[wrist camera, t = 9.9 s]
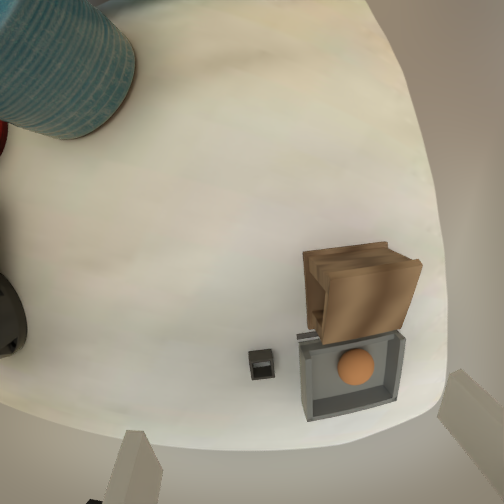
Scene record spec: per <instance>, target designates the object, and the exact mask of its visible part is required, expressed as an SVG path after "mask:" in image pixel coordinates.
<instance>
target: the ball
mask: <svg viewBox="0 0 504 504" xmlns="http://www.w3.org/2000/svg"><path fill="white" fill-rule="evenodd" d="M337 370H338V374H339V377H340V378H341V379H342V380H343V381H344V382H345V383H347V384H349V385H360V384H363V383H365V382H366V381H368V380H369V379H370V377H371V376H372V374H373V372H374V360H373V358H372V356H371V355H370V354H369V353H368V352H367V351H365V350H363V349H351V350H349V351H347V352H345V353H344V354H343V355H342V356H341V358H340V359H339V362H338V366H337Z"/></svg>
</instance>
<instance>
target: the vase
mask: <svg viewBox="0 0 504 504" xmlns="http://www.w3.org/2000/svg"><path fill="white" fill-rule="evenodd" d="M134 70H135V56H134V51H133V48H132V46H131V44H130V42H129V40H128V39H127V38H126V37H125V36H124V34H123V33H122V32H120V30H119V29H118V28H117V27H116V26H115V25H114V24H113V23H112V22H111V21H110V20H109V19H108V18H107V17H106V16H105V15H104V14H103V13H101V12H100V11H99V10H98V9H97V8H95V7H94V6H93V5H91V3H89V2H88V1H87V0H0V120H1V121H3V122H7V123H11V124H13V125H15V126H17V127H21V128H23V129H26V130H29V131H32V132H36V133H39V134H42V135H46V136H49V137H52V138H55V139H74V138H78V137H81V136H84V135H86V134H88V133H90V132H92V131H93V130H95V129H97V128H98V127H99V126H101V125H102V124H103V123H104V122H106V121H107V120H108V119H109V118H110V117H111V116H112V115H113V114H114V112H115V111H116V110H117V109H118V107H119V106H120V105H121V103H122V102H123V100H124V98H125V96H126V95H127V93H128V90H129V88H130V86H131V83H132V80H133V76H134Z"/></svg>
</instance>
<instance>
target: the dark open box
mask: <svg viewBox="0 0 504 504" xmlns="http://www.w3.org/2000/svg"><path fill="white" fill-rule="evenodd" d="M248 353H249V365H250V371H251V378H252V380H259V379H267V378H275V373H274V363H273V356H272V351H271V349H266V350H258V351H250V352H248ZM266 361H270V364H271V366H265V367H256V368H253V364H252V363H258V362H266Z"/></svg>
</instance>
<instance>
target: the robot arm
mask: <svg viewBox="0 0 504 504" xmlns="http://www.w3.org/2000/svg"><path fill="white" fill-rule="evenodd" d="M26 334H27V326H26V319H25V314H24V311H23V308H22V305H21V302H20V300H19V298H18V296H17V294H16V292H15V290H14V289H13V287H12V286H11V284H10V283H9V282H8V280H7V279H6V278H5V277H4V276H3V275H2V274H1V273H0V359H1V358H5V357H9V356H11V355H13V354H14V353H16V352H17V351H18V350H19V349H20V348H21V347H22V346H23V344H24V342H25V340H26ZM437 418H438V419H439V420H440V421H441V423H443V425H444V426H445V427H446V429H447V430H448V431H449V432H450V434H451V435H452V436H453V437H454V438H455V440H456V441H457V442H458V443H459V445H460V446H461V447H462V448H463V450H464V451H465V452H466V453H467V455H468V456H469V457H470V459H471V460H472V461H473V462H474V464H475V465H476V466H477V467H478V469H479V470H480V471H481V473H482V474H483V475H484V476H485V478H486V479H487V480H488V482H489V483H490V484H491V486H492V487H493V488H494V489H495V491H496V492H497V493H498V495H499V496H500V497H501V499H502V500H503V501H504V407H503V406H502V405H501V404H500V403H499V402H497V401H496V400H495V399H494V398H493V397H492V396H491V395H490V394H489V393H488V392H487V391H485V390H484V389H483V388H482V387H481V386H480V385H479V384H478V383H477V382H475V381H474V380H473V379H472V378H471V377H470V376H469V375H468V374H466V373H465V372H464V371H463V370H462V369H460V370H457V371H455V372H453V373H451V374H449V377H448V381H447V385H446V388H445V392H444V396H443V399H442V403H441V406H440V409H439V412H438V415H437ZM162 474H163V469H162V467H161V465H160V463H159V461H158V459H157V457H156V455H155V453H154V451H153V449H152V447H151V445H150V443H149V441H148V439H147V437H146V435H145V433H144V431H131V430H127V431H126V433H125V436H124V439H123V442H122V445H121V448H120V451H119V453H118V456H117V459H116V462H115V465H114V468H113V471H112V474H111V477H110V480H109V483H108V486H107V489H106V493H105V496H104V499H103V501H98V500H93V499H90V500H89V501H88V502H87V503H86V504H157V503H158V497H159V491H160V486H161V480H162Z"/></svg>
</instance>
